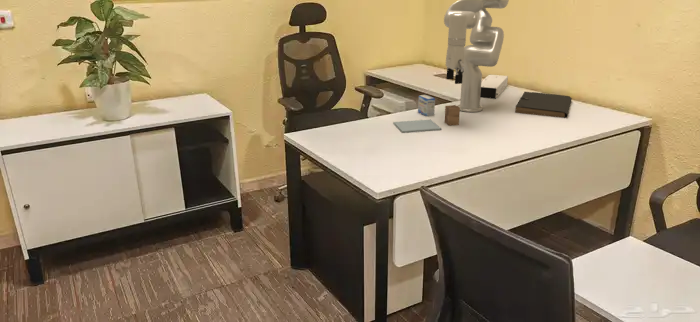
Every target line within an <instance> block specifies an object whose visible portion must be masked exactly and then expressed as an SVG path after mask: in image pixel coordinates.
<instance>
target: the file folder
mask: <svg viewBox="0 0 700 322" xmlns="http://www.w3.org/2000/svg"><path fill="white" fill-rule="evenodd" d="M572 99H573V98H572V97H571V96H569V95H563V94H562V95H561V94H556V93H555V94H553V93H543V92H536V91H535V92H534V91H523V94H521V96H520V98H519V100H518V101H517V103H516V104H515V110H514V111H515V112H514V113H516V114H521V115H522V114H523V115H524V114H525V115H531V116H543V117H553V118H562V119H565V118H568V115H569V111H570V108H571V103H572Z"/></svg>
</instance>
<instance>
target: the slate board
mask: <svg viewBox="0 0 700 322" xmlns="http://www.w3.org/2000/svg"><path fill="white" fill-rule="evenodd" d="M393 125H394V126H395V127H396V128H397V129H398V130H399V132H401V133H402V134H405V133H406V134H408V133H417V132H418V133H420V132H422V133H423V132H431V131H432V132H433V131H434V132H435V131H442V127H440V126H439V125H438V124H437V123H436V122H434V121H433V120H432V119H419V120H417V119H416V120H403V121H393Z"/></svg>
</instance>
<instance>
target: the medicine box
mask: <svg viewBox="0 0 700 322" xmlns="http://www.w3.org/2000/svg"><path fill="white" fill-rule="evenodd" d="M417 105H418V106H417V113H418V114H420V113H421V115H423V116H425V117H432V116H435V108H436V107H435V106H436V98H435V97H432V96H430V95H427V94H421V95H418V102H417Z"/></svg>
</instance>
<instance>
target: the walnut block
mask: <svg viewBox="0 0 700 322" xmlns="http://www.w3.org/2000/svg"><path fill="white" fill-rule="evenodd" d="M444 108H445V109H444V122H443V123H444V124H445V125H447V126H450V127H451V126H460V112H461V111H460V108H459V107H458V105H456V104H454V105H452V104H451V105H445V106H444Z"/></svg>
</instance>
